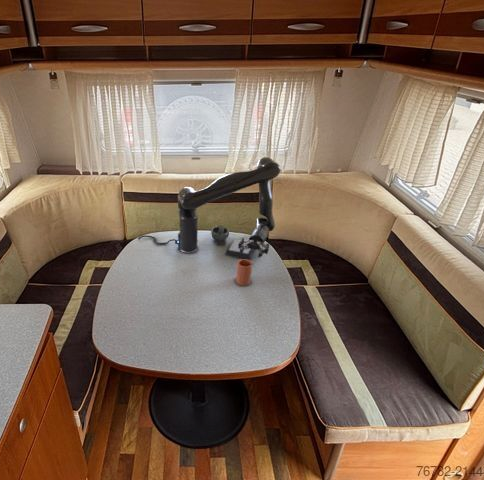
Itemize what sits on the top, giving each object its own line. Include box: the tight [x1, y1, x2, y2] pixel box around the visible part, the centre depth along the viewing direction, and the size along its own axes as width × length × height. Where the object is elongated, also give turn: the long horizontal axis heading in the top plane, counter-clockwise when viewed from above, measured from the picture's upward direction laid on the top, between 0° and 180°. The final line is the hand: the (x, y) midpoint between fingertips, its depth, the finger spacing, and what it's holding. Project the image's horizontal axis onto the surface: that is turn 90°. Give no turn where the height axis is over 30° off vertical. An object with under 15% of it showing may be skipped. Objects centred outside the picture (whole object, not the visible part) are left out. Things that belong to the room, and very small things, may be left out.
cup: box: [235, 258, 253, 287], centre depth 160 cm, size 6×6×10 cm
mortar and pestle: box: [210, 225, 230, 245], centre depth 191 cm, size 11×9×12 cm
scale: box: [225, 239, 255, 261], centre depth 185 cm, size 12×12×3 cm
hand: (250, 253), depth 166 cm, fingers open, 8 cm apart
